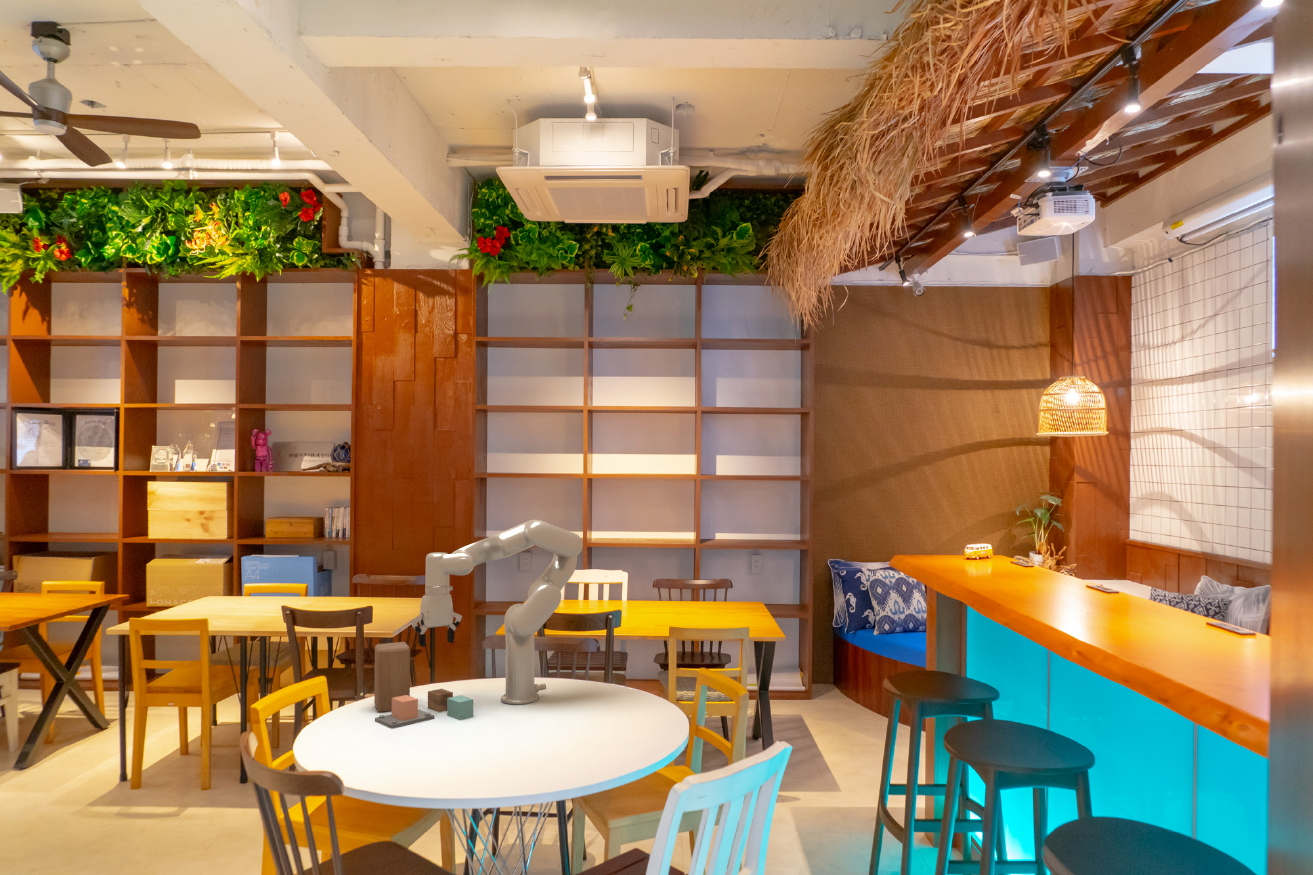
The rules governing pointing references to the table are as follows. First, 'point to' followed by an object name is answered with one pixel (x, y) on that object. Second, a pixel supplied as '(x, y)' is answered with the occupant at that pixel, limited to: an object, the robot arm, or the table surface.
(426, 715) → the baseplate
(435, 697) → the walnut brick
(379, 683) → the block
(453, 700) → the teal brick
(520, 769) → the table surface
